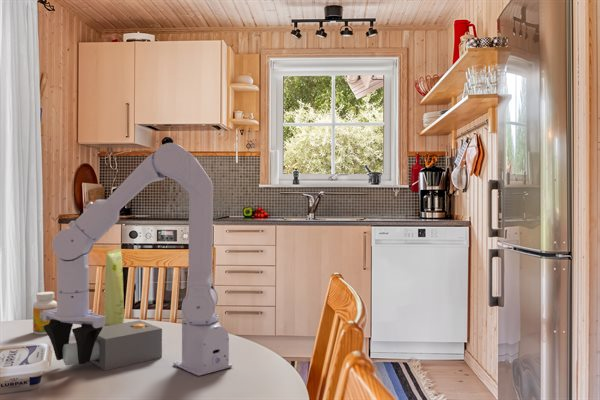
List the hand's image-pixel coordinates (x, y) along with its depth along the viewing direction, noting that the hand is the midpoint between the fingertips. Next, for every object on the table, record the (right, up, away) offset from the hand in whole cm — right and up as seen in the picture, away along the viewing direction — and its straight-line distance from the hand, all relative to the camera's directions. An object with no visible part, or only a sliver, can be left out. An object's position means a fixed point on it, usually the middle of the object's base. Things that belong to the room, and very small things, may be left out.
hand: (73, 360), depth 101 cm
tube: (-5, -2, +36) cm, 37 cm away
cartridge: (+4, -1, +4) cm, 5 cm away
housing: (+7, -2, +7) cm, 10 cm away
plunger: (+10, +2, +9) cm, 14 cm away
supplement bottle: (-19, -2, +28) cm, 33 cm away
